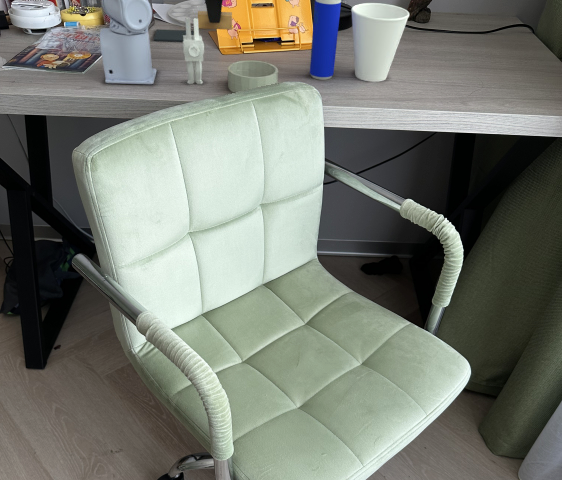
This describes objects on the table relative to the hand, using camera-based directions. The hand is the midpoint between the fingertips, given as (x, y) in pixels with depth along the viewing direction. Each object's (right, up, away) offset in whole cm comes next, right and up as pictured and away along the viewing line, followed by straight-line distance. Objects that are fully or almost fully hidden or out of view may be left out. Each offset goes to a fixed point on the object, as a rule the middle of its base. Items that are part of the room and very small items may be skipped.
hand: (214, 20), depth 120 cm
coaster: (-12, +7, +18) cm, 22 cm away
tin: (+8, -15, -3) cm, 18 cm away
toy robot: (-4, -15, -3) cm, 16 cm away
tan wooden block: (0, -1, +1) cm, 1 cm away
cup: (+33, -9, +5) cm, 35 cm away
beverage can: (+23, -10, +4) cm, 25 cm away
